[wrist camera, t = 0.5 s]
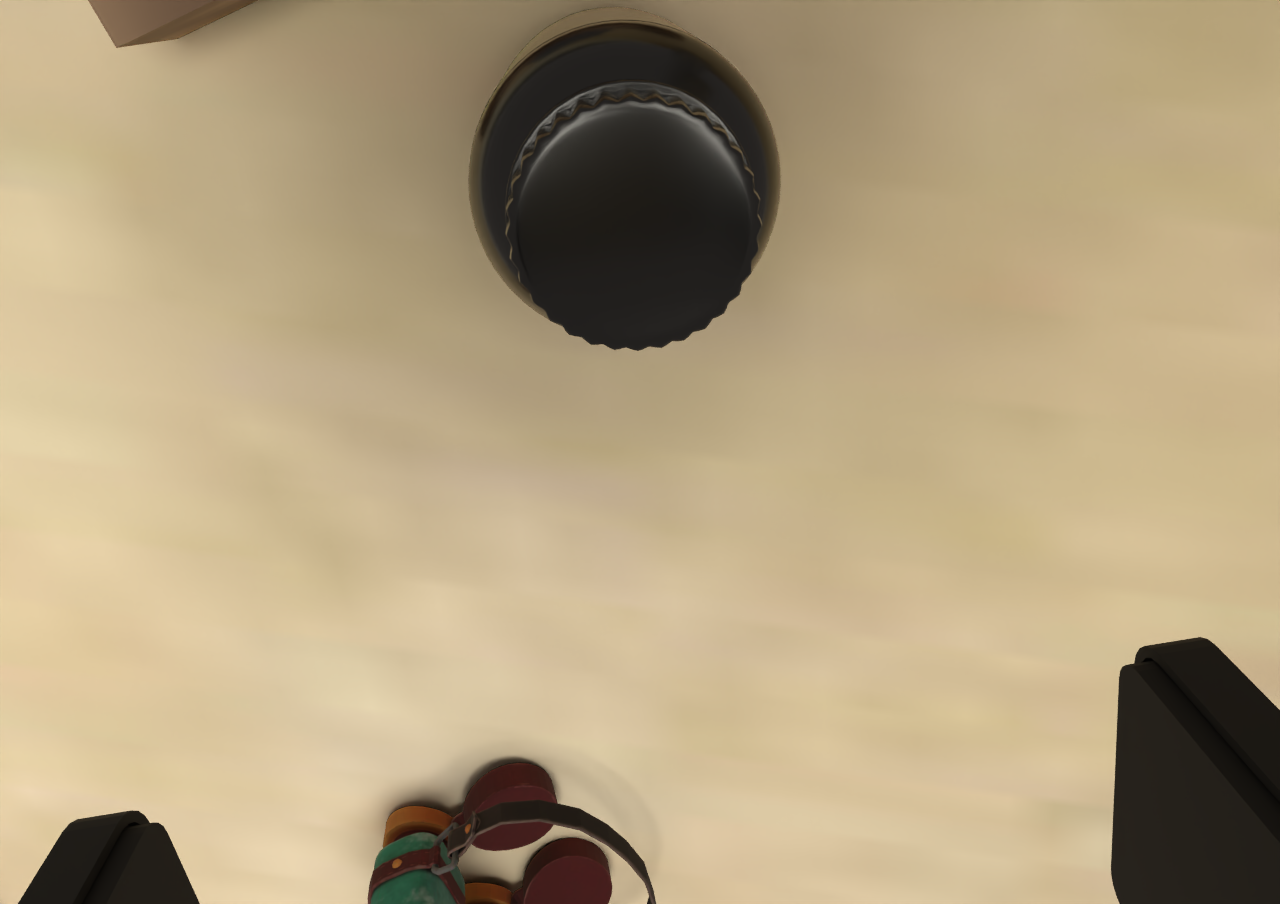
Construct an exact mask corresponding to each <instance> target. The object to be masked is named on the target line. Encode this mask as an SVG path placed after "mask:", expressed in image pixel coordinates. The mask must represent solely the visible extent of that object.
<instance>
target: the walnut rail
mask: <svg viewBox="0 0 1280 904" xmlns="http://www.w3.org/2000/svg"><path fill="white" fill-rule="evenodd" d="M88 1H89V3H90V4H91V6H92V8H93V9H94V11H95V13H96V14H97V16H98V18H99V19H100V21H101V23H102V24H103V26H104V28H105V29H106V31H107V33H108V34H109V36H110V38H111V40H112V41H113V43H114V45H115V46H116V48H118V47H125V46H132V45H139V44H145V43H152V42H159V41H166V40H172V39H178V38H180V37H182V36H184V35H186V34H189V33H191V32H193V31H195V30H197V29H199V28H201V27H203V26H205V25H207V24H209V23H211V22H214V21H216V20H218V19H220V18H222V17H224V16H226V15H228V14H230V13H232V12H234V11H236V10H239V9H241V8H243V7H245V6H247V5H249V4H251V3H253V2H255V1H257V0H88Z"/></svg>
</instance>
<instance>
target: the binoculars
mask: <svg viewBox="0 0 1280 904" xmlns="http://www.w3.org/2000/svg"><path fill="white" fill-rule="evenodd" d="M553 825H558V826H563V827H567V828H572V829H576V830H580V831H582V832H584V833H586V834H588V835H589V836H591V837H593V838H595V839H597V840H598V841H600V842H602V843H604V844H606V845H607V846H609V847H610V848H611V849H612V850H613V851H615V852H616V853H617V854H618V855H619V856H621V857H622V858H623V859H624V860H625V861H627V862H628V864H629V865H630V866H631V867H632V868H633V869H634V871H635V872H636V873H637V874H638V875H639V877H640V878H641V879H642V880H643V881H644V883H645V885H646V888H647V891H648V894H649V898H648V902H647V904H656V901H655V896H654V891H653V888H652V885H651V882H650V879H649V876H648V873H647V870H646V867H645V864H644V861H643V860H642V859H641V858H640V857H639V855H638V854H637V853H636V852H635V850H634V849H633V848H632V847H631V846H630V844H629V843H628V842H627V841H626V840H625V839H624V838H623V837H621V836H620V835H619V834H618V833H617V832H616V831H614V830H613V829H612V828H611V827H610V826H609V825H607V824H606V823H604V822H602V821H601V820H599V819H597V818H595V817H593V816H592V815H590V814H588V813H586V812H585V811H583V810H581V809H579V808H575V807H570V806H566V805H561V804H557V799H556V796H555V792H554V788H553V784H552V780H551V778H550V777H549V775H548V774H547V773H546V772H545V771H544V770H543V769H541V768H540V767H538V766H535V765H532V764H528V763H513V764H507V765H503V766H500V767H498V768H496V769H493V770H491V771H490V772H488V773H487V774H485V775H484V776H483V777H481V778H480V779H479V780H478V781H477V782H476V783H475V785H474V786H473V787H472V788H471V790H470V791H469V793H468V795H467V797H466V799H465V803H464V806H463V812H461V813H459V814H457V815H456V816H455V817H454V818H453V817H451V816H450V815H448V814H446V813H444V812H442V811H439V810H436V809H432V808H428V807H423V806H409V807H404V808H401V809H398V810H396V811H395V812H393V813H392V814H391V815H390V816H389V818H388V820H387V822H386V829H385V835H384V842H383V849H382V850H381V851H380V852H379V854H378V856H377V858H376V861H375V866H374V871H373V874H372V877H371V881H370V885H369V893H368V904H608V903H609V900H610V897H611V894H612V883H611V877H610V872H609V866H608V861H607V859H606V856H605V854H604V853H603V852H602V850H601V849H600V848H599V847H598V846H596V845H595V844H594V843H592V842H589V841H587V840H584V839H579V838H566V839H561V840H557V841H555V842H553V843H550V844H549V845H547V846H546V847H544V848H543V849H542V850H541V851H540V852H539V853H537V854H536V855H535V857H534V858H533V860H532V861H531V862H530V864H529V866H528V868H527V870H526V872H525V875H524V879H523V887H522V888H520V889H518V890H516V891H515V892H514V893H512V892H511V891H509V890H508V889H506V888H504V887H501V886H499V885H495V884H489V883H469V884H465V882H464V879H463V876H462V874H461V872H460V870H459V868H458V867H457V864H458V861H459V857H461V856H462V855H463V854H464V853H465V852H466V851H467V849H468V848H469V846H470V845H471V844H472V845H474V846H475V847H477V848H480V849H484V850H492V851H500V850H510V849H515V848H519V847H522V846H526V845H528V844H530V843H533V842H535V841H537V840H538V839H540V838H541V837H543V836H544V835H545V834H546V833H547V832H548V831H549V830H550V829H551V828H552V826H553Z"/></svg>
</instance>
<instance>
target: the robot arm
mask: <svg viewBox="0 0 1280 904" xmlns="http://www.w3.org/2000/svg"><path fill="white" fill-rule="evenodd" d="M1111 875H1112V881H1113V886H1114V889H1115V892H1116V896H1117V898H1118V901H1119V903H1120V904H1280V710H1279V709H1278V708H1277V707H1276V706H1275V705H1274V704H1273V703H1272V702H1271V701H1270V700H1269V699H1268V698H1267V697H1266V696H1265V695H1264V694H1263V693H1262V692H1261V691H1260V690H1259V689H1258V688H1257V687H1256V686H1255V685H1254V684H1253V683H1252V682H1251V681H1250V680H1249V679H1248V678H1247V677H1246V676H1245V675H1244V674H1243V673H1242V672H1241V671H1240V670H1239V668H1238V667H1237V666H1236V665H1235V664H1234V663H1233V662H1232V661H1231V660H1230V659H1229V658H1228V657H1227V656H1226V655H1225V654H1224V653H1223V652H1222V651H1221V650H1220V649H1219V648H1218V647H1217V646H1216V645H1215V644H1213V643H1212V642H1211V641H1209V640H1208V639H1205V638H1201V637H1198V638H1192V639H1186V640H1180V641H1174V642H1168V643H1161V644H1155V645H1149V646H1144V647H1142V648H1140V649H1139V650H1138V652H1137V654H1136V657H1135V663H1134V664H1129V665H1125V666H1123V667H1122V669H1121V671H1120V677H1119V695H1118V719H1117V742H1116V765H1115V789H1114V812H1113V835H1112V859H1111ZM18 904H200V903H199V901H198V899H197V897H196V895H195V892H194V890H193V888H192V886H191V884H190V881H189V879H188V877H187V875H186V873H185V870H184V868H183V866H182V864H181V861H180V859H179V857H178V855H177V853H176V850H175V848H174V846H173V844H172V842H171V839H170V837H169V835H168V833H167V831H166V830H165V828H164V826H162V825H161V824H159V823H149V821H148V820H147V818H146V816H145V815H143V814H142V813H140V812H139V811H126V812H120V813H114V814H108V815H101V816H95V817H89V818H83V819H77V820H75V821H74V822H72V823H70V824H69V825H68V826H67V827H66V828H65V830H64V831H63V832H62V834H61V835H60V837H59V838H58V840H57V842H56V843H55V845H54V846H53V848H52V850H51V851H50V853H49V855H48V856H47V858H46V859H45V861H44V863H43V864H42V866H41V867H40V869H39V871H38V872H37V874H36V875H35V877H34V879H33V880H32V882H31V884H30V885H29V887H28V888H27V890H26V892H25V893H24V895H23V896H22V898H21V900H20V901H19V903H18Z"/></svg>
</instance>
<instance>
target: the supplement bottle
mask: <svg viewBox="0 0 1280 904" xmlns="http://www.w3.org/2000/svg"><path fill="white" fill-rule="evenodd" d="M780 186H781V180H780V162H779V154H778V149H777V144H776V139H775V136H774V133H773V130H772V127H771V124H770V121H769V119H768V117H767V114H766V112H765V110H764V108H763V106H762V104H761V102H760V100H759V99H758V97H757V95H756V94H755V92H754V91H753V89H752V88H751V86H750V85H749V83H748V82H747V81H746V79H745V78H744V77H743V76H742V75H741V74H740V72H739V71H738V70H737V69H736V68H735V67H734V66H733V65H732V64H731V63H730V62H729V61H728V60H727V59H726V58H724V57H723V56H722V55H721V54H719V52H717V51H716V50H715V49H714V48H712V47H711V46H710V45H708V44H706V43H705V42H703V41H701V40H700V39H698V38H697V37H695V36H693V35H692V34H690V33H688V32H687V31H685V30H684V29H682V28H680V27H679V26H677V25H675V24H674V23H672V22H670V21H668V20H666V19H664V18H662V17H659V16H656V15H654V14H651V13H648V12H645V11H640V10H636V9H631V8H623V7H604V8H595V9H590V10H585V11H581V12H578V13H575V14H572V15H570V16H567V17H565V18H563V19H561V20H559V21H557V22H555V23H553V24H552V25H550V26H549V27H547V28H546V29H544V30H543V31H541V32H540V33H539V34H538V35H537V36H536V37H534V38H533V39H532V40H531V41H530V42H529V43H528V44H527V45H526V46H525V47H524V48H523V49H522V51H521V52H520V53H519V54H518V56H517V57H516V58H515V60H514V61H513V62H512V64H511V65H510V67H509V69H508V70H507V72H506V73H505V75H504V77H503V78H502V80H501V81H500V83H499V85H498V86H497V88H496V89H495V91H494V93H493V94H492V96H491V98H490V99H489V101H488V103H487V105H486V107H485V109H484V112H483V114H482V116H481V118H480V121H479V124H478V127H477V130H476V133H475V137H474V141H473V145H472V150H471V157H470V164H469V198H470V205H471V212H472V216H473V220H474V224H475V228H476V231H477V234H478V236H479V239H480V242H481V244H482V246H483V248H484V251H485V253H486V255H487V257H488V258H489V260H490V262H491V264H492V265H493V267H494V269H495V270H496V271H497V273H498V274H499V276H500V277H501V278H502V280H503V281H504V282H505V283H506V284H507V286H508V287H509V288H510V289H511V290H512V291H513V292H514V293H515V294H516V295H517V296H518V297H519V298H520V299H521V300H522V301H523V302H524V303H526V304H527V305H528V306H529V307H531V308H532V309H533V310H535V311H536V312H537V313H539V314H541V315H542V316H544V317H545V318H547V319H549V320H550V321H552V322H554V323H556V324H558V325H560V326H563V327H564V329H565V331H566V332H567V333H568V334H569V335H573V336H579V337H582V338H583V339H585V340H586V341H587V342H588V343H590V344H592V345H598V344H604V345H606V346H607V347H609V348H611V349H614V350H616V349H621V348H625V347H627V348H630V349H633V350H637V351H639V350H642V349H644V348H646V347H649V346H651V347H659V348H662V347H664V346H665V345H667V344H669V343H670V342H671V341H682V340H685V339H686V338H687V337H689V335H690V334H691V333H692V332H695V331H699V330H703V329H705V328H706V327H707V326H708V325H709V323H710V322H711V320H712V319H713V318H715V317H718V316H720V315H722V314H723V313H724V312H725V310H726V308H727V305H728V303H729V302H730V301H732V300H733V299H735V298H736V297H737V296H738V295H739V294H740V291H741V285H742V284H743V283H744V282H745V280H746V279H747V278H748V276H749V275H750V274H751V272H752V271H753V269H754V268H755V266H756V265H757V263H758V261H759V260H760V258H761V256H762V254H763V252H764V250H765V248H766V246H767V243H768V241H769V238H770V236H771V233H772V230H773V227H774V223H775V220H776V216H777V211H778V205H779V198H780Z"/></svg>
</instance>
